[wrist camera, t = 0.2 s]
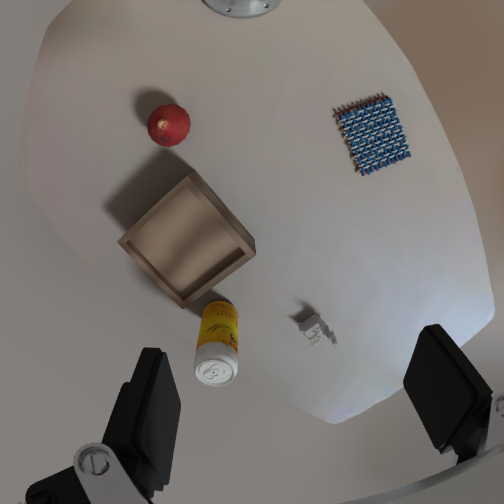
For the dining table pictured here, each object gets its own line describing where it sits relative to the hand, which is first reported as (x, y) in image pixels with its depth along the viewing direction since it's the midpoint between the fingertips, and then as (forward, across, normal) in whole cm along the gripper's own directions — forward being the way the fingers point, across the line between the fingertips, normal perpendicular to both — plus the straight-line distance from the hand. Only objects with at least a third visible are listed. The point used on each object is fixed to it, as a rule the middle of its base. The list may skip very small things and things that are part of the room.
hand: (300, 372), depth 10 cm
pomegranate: (+37, +11, -10) cm, 40 cm away
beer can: (+37, +7, +22) cm, 43 cm away
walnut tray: (+36, +10, +7) cm, 38 cm away
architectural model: (+37, -11, +30) cm, 49 cm away
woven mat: (+37, -18, -8) cm, 42 cm away
